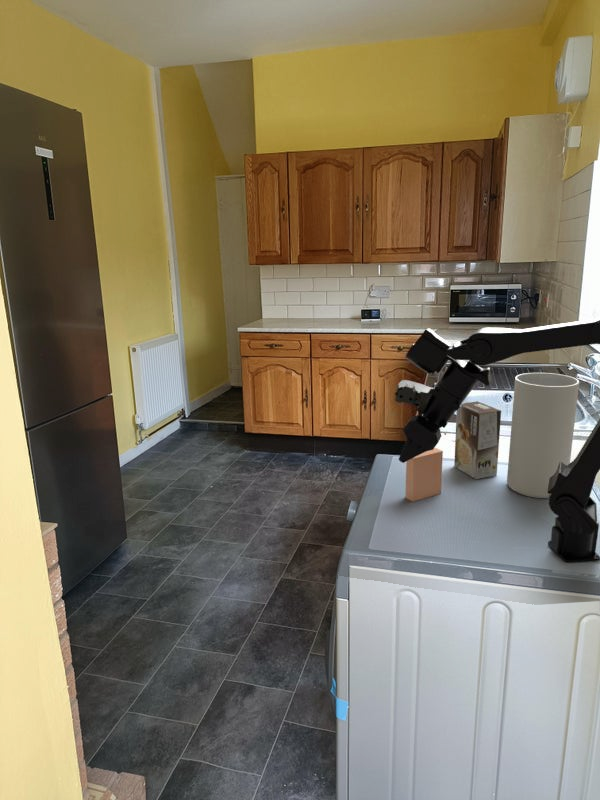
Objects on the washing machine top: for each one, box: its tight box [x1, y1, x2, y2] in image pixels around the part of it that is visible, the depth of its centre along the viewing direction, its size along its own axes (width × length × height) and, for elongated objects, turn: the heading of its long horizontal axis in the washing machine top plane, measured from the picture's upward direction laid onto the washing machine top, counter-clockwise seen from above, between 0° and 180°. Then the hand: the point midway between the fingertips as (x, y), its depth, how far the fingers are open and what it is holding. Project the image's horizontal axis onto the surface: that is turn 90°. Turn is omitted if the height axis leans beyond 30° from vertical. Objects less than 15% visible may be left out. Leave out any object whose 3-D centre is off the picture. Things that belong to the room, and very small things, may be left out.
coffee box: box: [454, 401, 502, 480], centre depth 136 cm, size 9×6×16 cm
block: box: [404, 447, 444, 502], centre depth 125 cm, size 3×8×10 cm, turn 119°
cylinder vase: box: [506, 372, 580, 499], centre depth 125 cm, size 12×12×25 cm
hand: (406, 452), depth 111 cm, fingers open, 9 cm apart
